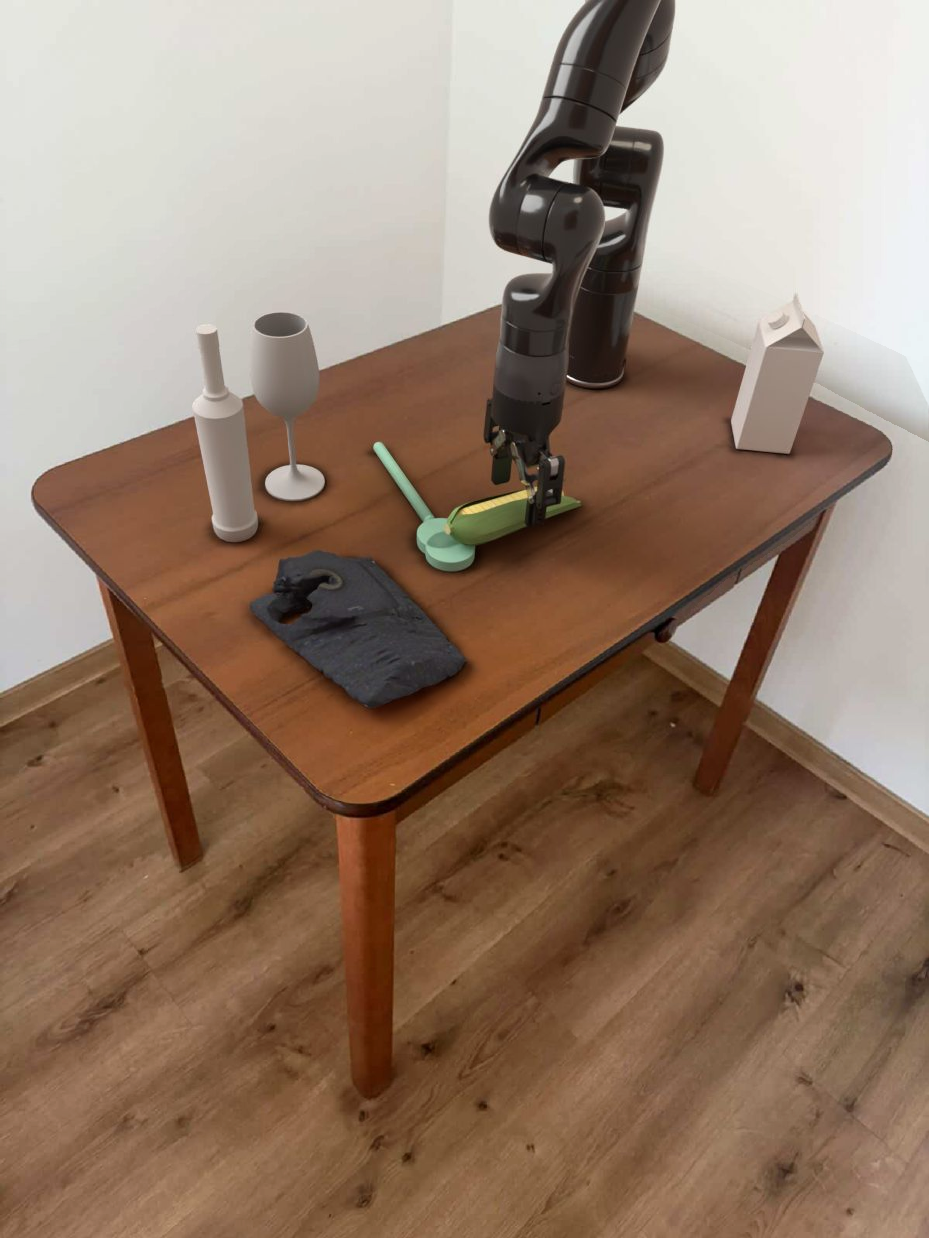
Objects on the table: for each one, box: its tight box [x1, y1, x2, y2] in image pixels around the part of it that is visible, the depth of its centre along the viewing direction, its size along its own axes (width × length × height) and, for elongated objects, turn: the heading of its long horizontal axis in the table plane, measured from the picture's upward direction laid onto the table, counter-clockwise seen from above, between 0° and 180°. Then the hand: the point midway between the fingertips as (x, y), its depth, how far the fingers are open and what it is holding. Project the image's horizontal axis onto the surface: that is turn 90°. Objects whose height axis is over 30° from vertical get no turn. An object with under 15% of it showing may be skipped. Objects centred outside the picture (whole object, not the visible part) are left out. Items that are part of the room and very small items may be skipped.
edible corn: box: [444, 478, 583, 547], centre depth 111 cm, size 5×20×5 cm, turn 124°
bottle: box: [191, 323, 259, 543], centre depth 103 cm, size 5×5×25 cm
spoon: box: [373, 441, 476, 572], centre depth 116 cm, size 26×6×1 cm, turn 25°
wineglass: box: [249, 311, 326, 502], centre depth 111 cm, size 8×8×21 cm
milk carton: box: [730, 292, 825, 455], centre depth 124 cm, size 7×7×19 cm
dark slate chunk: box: [249, 549, 469, 709], centre depth 98 cm, size 15×22×5 cm
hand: (516, 503), depth 111 cm, fingers open, 8 cm apart
